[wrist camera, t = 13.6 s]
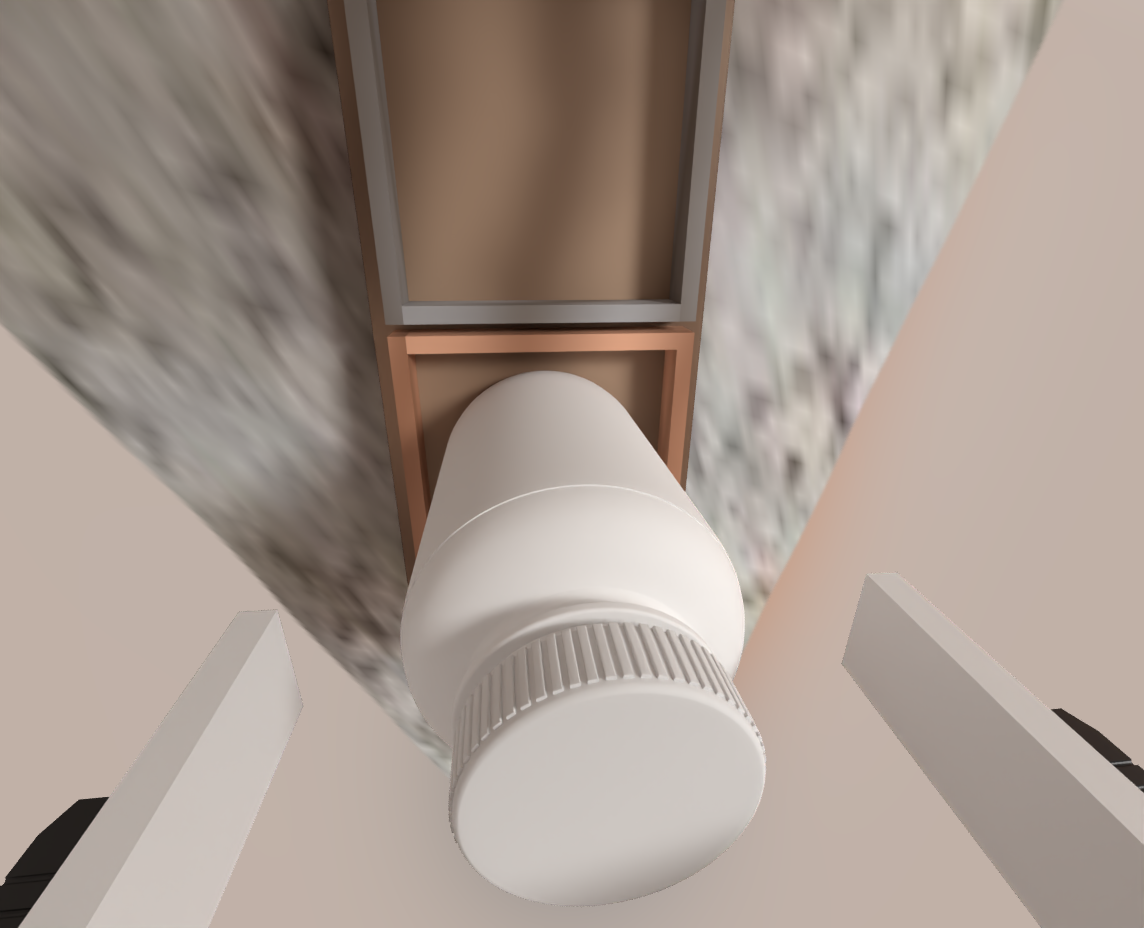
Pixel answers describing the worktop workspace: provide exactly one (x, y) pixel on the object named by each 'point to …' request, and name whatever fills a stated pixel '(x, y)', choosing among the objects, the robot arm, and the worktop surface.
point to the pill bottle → (578, 652)
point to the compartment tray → (531, 206)
